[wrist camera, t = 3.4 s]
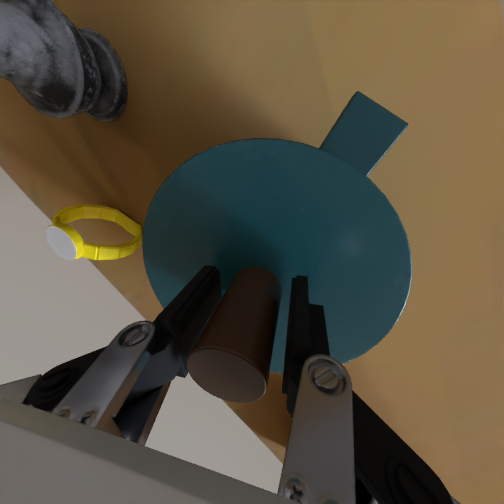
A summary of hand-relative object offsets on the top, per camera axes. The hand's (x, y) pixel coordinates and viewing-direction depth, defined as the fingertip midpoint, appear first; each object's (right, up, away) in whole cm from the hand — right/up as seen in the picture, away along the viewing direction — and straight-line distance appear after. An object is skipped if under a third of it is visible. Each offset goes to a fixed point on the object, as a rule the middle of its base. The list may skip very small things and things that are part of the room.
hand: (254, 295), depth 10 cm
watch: (-12, +5, +9) cm, 16 cm away
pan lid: (0, +1, +1) cm, 1 cm away
